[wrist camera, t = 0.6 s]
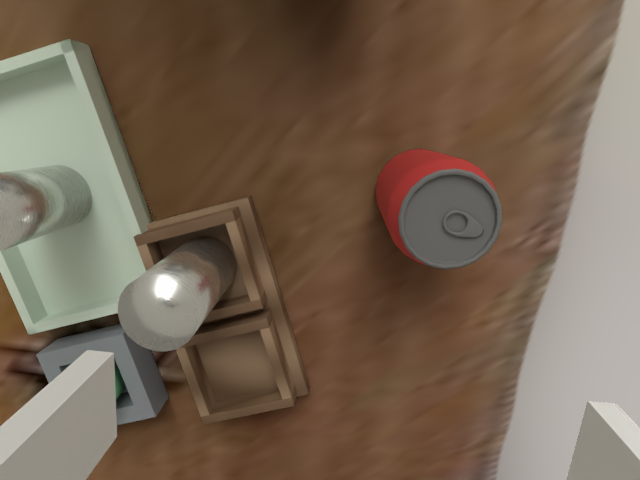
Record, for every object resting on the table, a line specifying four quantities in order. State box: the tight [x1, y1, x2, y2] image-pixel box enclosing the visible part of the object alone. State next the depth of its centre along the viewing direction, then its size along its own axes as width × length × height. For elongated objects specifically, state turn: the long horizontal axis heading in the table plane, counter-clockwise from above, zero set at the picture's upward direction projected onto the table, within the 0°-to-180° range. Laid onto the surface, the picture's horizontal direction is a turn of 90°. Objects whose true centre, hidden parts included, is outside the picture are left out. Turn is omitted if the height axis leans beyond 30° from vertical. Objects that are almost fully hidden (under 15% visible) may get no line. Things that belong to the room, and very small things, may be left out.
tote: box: [0, 39, 153, 335], centre depth 36 cm, size 21×13×2 cm, turn 15°
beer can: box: [375, 149, 502, 269], centre depth 30 cm, size 7×7×12 cm
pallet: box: [134, 196, 309, 425], centre depth 38 cm, size 18×10×3 cm, turn 15°
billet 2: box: [118, 236, 237, 351], centre depth 32 cm, size 5×5×10 cm
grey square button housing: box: [36, 323, 169, 425], centre depth 40 cm, size 8×8×3 cm
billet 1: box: [0, 165, 92, 251], centre depth 32 cm, size 5×5×10 cm
